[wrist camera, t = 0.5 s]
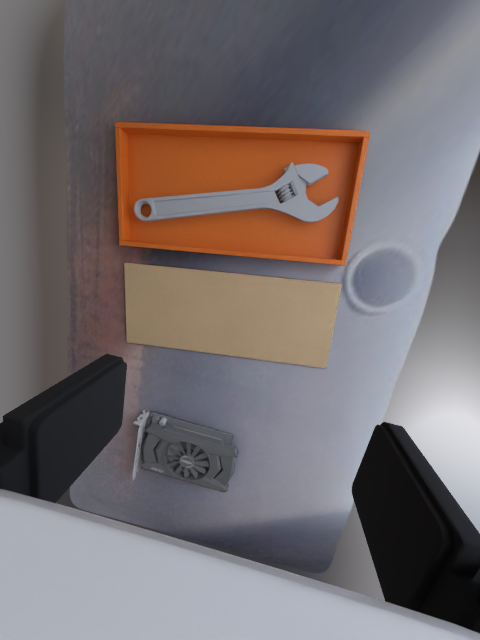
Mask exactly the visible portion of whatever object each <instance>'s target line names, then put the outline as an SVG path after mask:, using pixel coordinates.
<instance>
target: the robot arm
mask: <svg viewBox="0 0 480 640" xmlns="http://www.w3.org/2000/svg"><path fill="white" fill-rule="evenodd" d="M126 370H127V364H126V363H125V362H124V361H123V358H122V357H118V356H113V355H109V354H106V355H104V356H102V357H100V358H99V359H97V360H95V361H94V362H92V363H90V364H89V365H87V366H85V367H84V368H82V369H80V370H79V371H77V372H75V373H74V374H72V375H70V376H69V377H67V378H65V379H64V380H62V381H60V382H59V383H57V384H55V385H54V386H52V387H50V388H49V389H47V390H46V391H44V392H42V393H40V394H39V395H37V396H35V397H34V398H32V399H30V400H29V401H27V402H26V403H24V404H22V405H20V406H19V407H17V408H15V409H14V410H12V411H10V412H9V413H7V414H5V415H4V416H3V422H2V423H0V640H480V534H479V532H478V531H477V529H476V528H475V527H474V525H473V524H472V522H471V521H470V520H469V518H468V517H467V516H466V514H465V513H464V511H463V510H462V509H461V507H460V506H459V504H458V503H457V502H456V500H455V499H454V498H453V496H452V495H451V493H450V492H449V490H448V489H447V488H446V486H445V485H444V483H443V482H442V481H441V479H440V478H439V477H438V475H437V474H436V472H435V471H434V470H433V468H432V467H431V465H430V464H429V463H428V461H427V460H426V458H425V457H424V456H423V454H422V453H421V452H420V450H419V449H418V447H417V446H416V445H415V443H414V442H413V440H412V439H411V438H410V436H409V435H408V433H407V432H406V431H405V429H404V428H403V427H402V426H398V425H394V424H390V423H386V422H383V423H382V424H381V425H377V426H376V427H375V429H374V431H373V434H372V436H371V439H370V441H369V444H368V446H367V449H366V452H365V454H364V457H363V459H362V462H361V464H360V467H359V469H358V472H357V474H356V477H355V479H354V482H353V485H352V495H353V498H354V502H355V505H356V508H357V511H358V514H359V518H360V520H361V524H362V527H363V530H364V534H365V537H366V540H367V543H368V547H369V550H370V553H371V556H372V560H373V563H374V566H375V569H376V572H377V576H378V579H379V582H380V585H381V588H382V592H383V595H384V598H385V601H382V600H379V599H376V598H373V597H369V596H366V595H362V594H360V593H356V592H353V591H349V590H346V589H343V588H340V587H337V586H333V585H330V584H327V583H323V582H320V581H317V580H314V579H310V578H307V577H303V576H300V575H297V574H294V573H290V572H287V571H284V570H280V569H277V568H274V567H271V566H267V565H264V564H261V563H257V562H254V561H250V560H247V559H244V558H241V557H237V556H234V555H230V554H227V553H224V552H220V551H217V550H214V549H210V548H207V547H204V546H200V545H197V544H194V543H190V542H186V541H183V540H180V539H177V538H173V537H170V536H167V535H163V534H159V533H156V532H153V531H150V530H146V529H142V528H139V527H136V526H132V525H129V524H125V523H122V522H119V521H115V520H112V519H108V518H105V517H101V516H98V515H94V514H91V513H87V512H84V511H81V510H77V509H74V508H70V507H67V506H63V505H59V504H56V502H57V501H58V500H59V499H60V497H61V496H62V495H63V494H64V493H65V492H66V490H67V489H68V488H69V487H70V486H71V485H72V484H73V483H74V481H75V480H76V479H77V478H78V477H79V476H80V475H81V474H82V472H83V471H84V470H85V469H86V468H87V467H88V466H89V464H90V463H91V462H92V461H93V460H94V459H95V458H96V456H97V455H98V454H99V453H100V452H101V451H102V450H103V448H104V447H105V446H106V445H107V444H108V443H109V442H110V441H111V439H112V438H113V437H114V436H115V435H116V434H117V432H118V431H119V429H120V427H121V425H122V418H123V406H124V394H125V382H126Z"/></svg>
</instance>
